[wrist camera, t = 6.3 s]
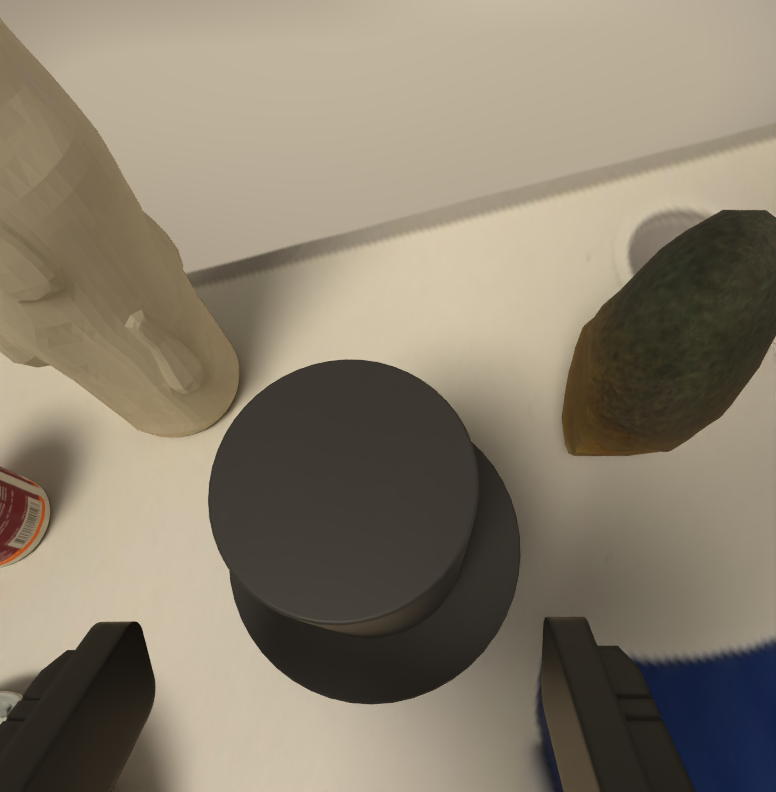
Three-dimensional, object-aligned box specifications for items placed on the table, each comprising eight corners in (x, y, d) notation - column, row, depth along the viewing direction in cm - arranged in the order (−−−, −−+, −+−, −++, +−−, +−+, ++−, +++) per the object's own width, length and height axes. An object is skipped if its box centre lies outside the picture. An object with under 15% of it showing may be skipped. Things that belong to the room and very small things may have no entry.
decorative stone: (611, 338, 32) (741, 103, 19) (708, 408, 30) (934, 201, 17) (495, 458, 30) (547, 290, 16) (592, 543, 28) (745, 430, 14)
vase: (108, 468, 31) (-2146, -856, 4) (102, 336, 35) (-1103, -842, 7) (264, 428, 31) (-825, -1056, 4) (243, 301, 35) (-426, -953, 8)
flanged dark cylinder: (500, 422, 23) (538, 286, 14) (525, 699, 19) (599, 730, 10) (258, 430, 23) (162, 303, 15) (233, 700, 19) (83, 730, 11)
